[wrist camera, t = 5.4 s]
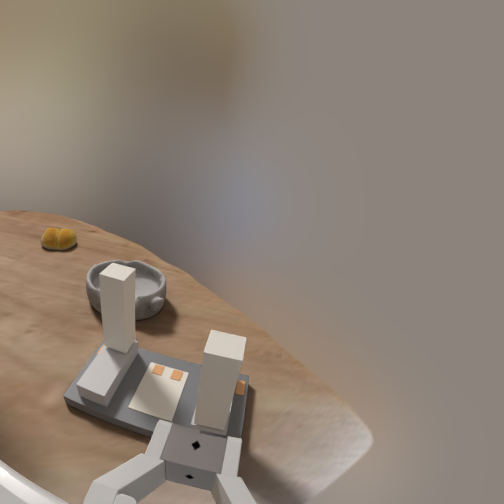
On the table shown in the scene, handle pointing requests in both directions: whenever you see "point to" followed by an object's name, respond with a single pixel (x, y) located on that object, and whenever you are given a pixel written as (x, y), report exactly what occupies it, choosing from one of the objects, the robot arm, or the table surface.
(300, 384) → the table surface
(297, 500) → the table surface
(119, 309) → the rear knob
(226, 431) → the switch box
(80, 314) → the table surface
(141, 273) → the dish
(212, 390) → the front knob
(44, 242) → the bread roll
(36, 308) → the table surface
